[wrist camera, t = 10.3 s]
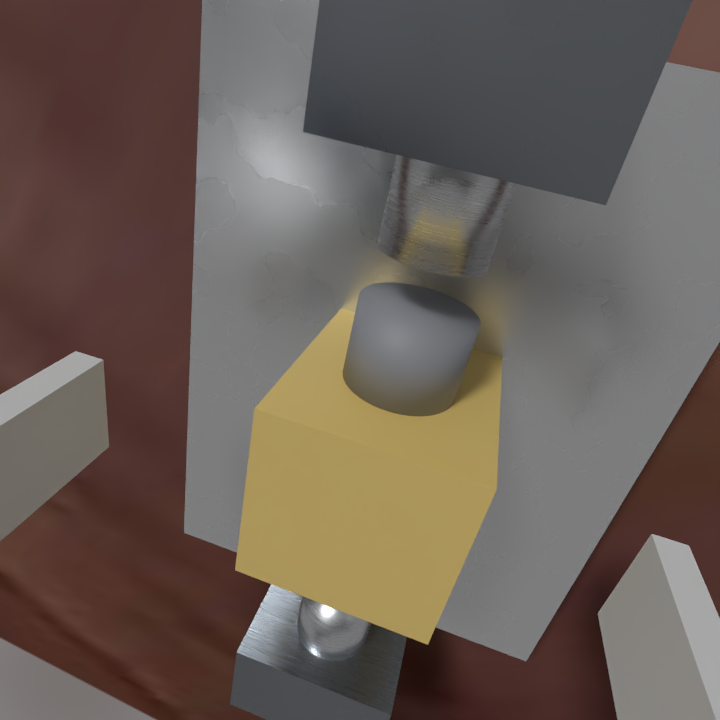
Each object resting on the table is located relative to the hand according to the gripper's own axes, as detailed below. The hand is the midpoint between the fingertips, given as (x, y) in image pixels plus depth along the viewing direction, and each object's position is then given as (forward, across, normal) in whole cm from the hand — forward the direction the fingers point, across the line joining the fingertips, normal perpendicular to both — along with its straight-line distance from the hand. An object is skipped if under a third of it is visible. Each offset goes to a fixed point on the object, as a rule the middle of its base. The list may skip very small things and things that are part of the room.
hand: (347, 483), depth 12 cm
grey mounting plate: (+7, 0, 0) cm, 7 cm away
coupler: (+5, 0, 0) cm, 5 cm away
